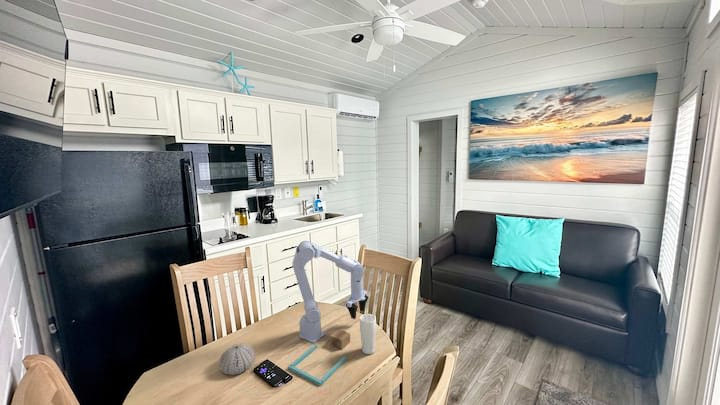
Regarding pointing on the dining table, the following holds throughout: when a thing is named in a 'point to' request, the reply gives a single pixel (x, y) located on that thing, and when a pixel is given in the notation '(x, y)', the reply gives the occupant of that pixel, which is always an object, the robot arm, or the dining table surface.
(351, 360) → the dining table surface
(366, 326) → the white cup
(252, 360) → the sea urchin shell
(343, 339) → the walnut block
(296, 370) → the frame
